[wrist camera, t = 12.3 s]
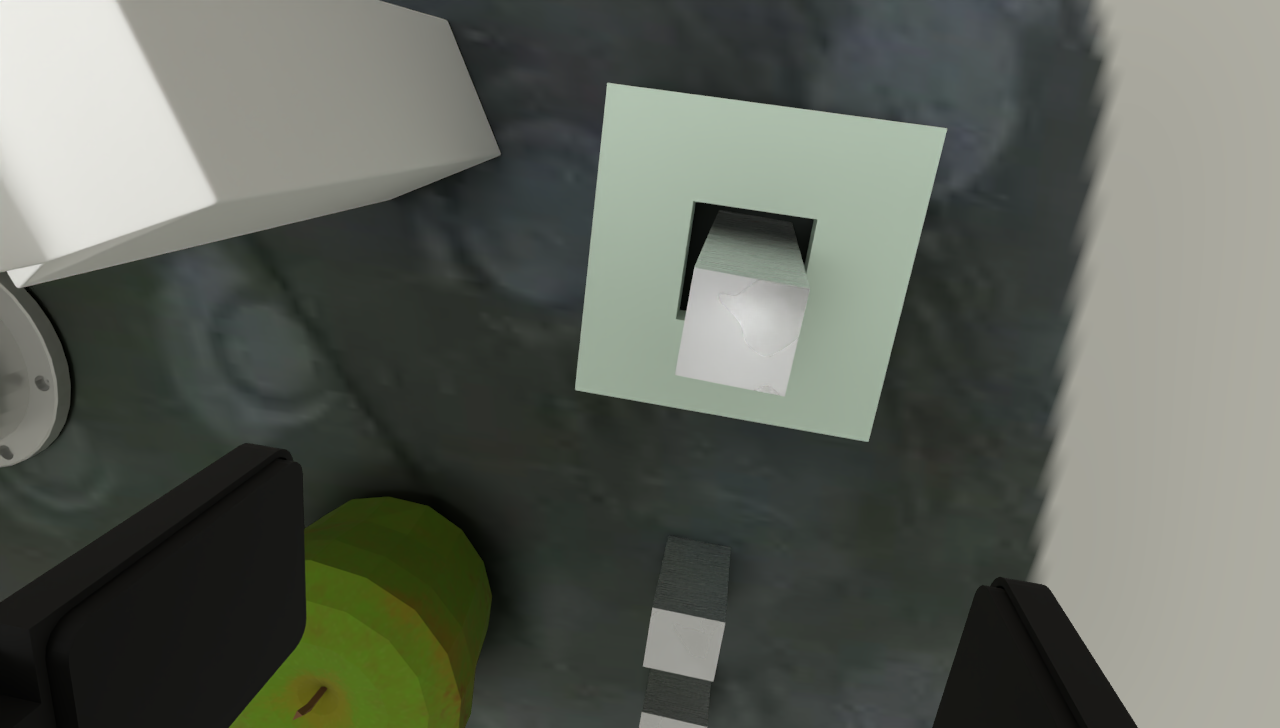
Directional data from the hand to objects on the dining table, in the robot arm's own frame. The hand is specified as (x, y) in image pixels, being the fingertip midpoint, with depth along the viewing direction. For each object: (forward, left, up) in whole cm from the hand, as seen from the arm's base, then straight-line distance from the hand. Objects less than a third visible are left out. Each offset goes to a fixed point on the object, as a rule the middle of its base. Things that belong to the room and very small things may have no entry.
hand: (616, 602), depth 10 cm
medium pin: (-13, -10, -25) cm, 30 cm away
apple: (-24, +1, -25) cm, 35 cm away
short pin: (-19, -14, -25) cm, 34 cm away
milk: (-4, +14, -25) cm, 29 cm away
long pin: (+1, -1, -25) cm, 25 cm away
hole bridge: (+1, -1, -25) cm, 25 cm away
